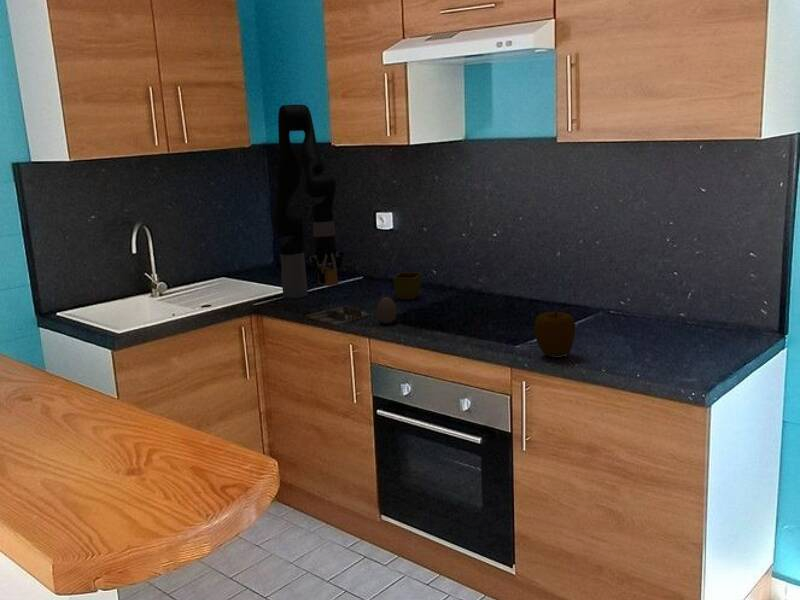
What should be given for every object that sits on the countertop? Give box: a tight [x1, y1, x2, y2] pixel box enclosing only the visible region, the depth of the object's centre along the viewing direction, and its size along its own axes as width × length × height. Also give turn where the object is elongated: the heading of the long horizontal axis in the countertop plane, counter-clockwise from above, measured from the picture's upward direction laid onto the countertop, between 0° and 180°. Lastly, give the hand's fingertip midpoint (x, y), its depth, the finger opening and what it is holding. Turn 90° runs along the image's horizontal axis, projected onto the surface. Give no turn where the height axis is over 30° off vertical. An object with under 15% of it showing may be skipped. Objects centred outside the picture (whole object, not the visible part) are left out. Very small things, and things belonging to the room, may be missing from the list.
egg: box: [376, 296, 398, 325], centre depth 267 cm, size 7×7×9 cm
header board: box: [305, 304, 373, 326], centre depth 281 cm, size 18×16×5 cm
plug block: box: [317, 266, 339, 287], centre depth 282 cm, size 6×4×6 cm, turn 40°
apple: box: [534, 311, 576, 356], centre depth 223 cm, size 11×11×13 cm
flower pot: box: [392, 272, 422, 301], centre depth 301 cm, size 9×9×9 cm
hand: (328, 282), depth 282 cm, fingers closed on plug block, 4 cm apart
